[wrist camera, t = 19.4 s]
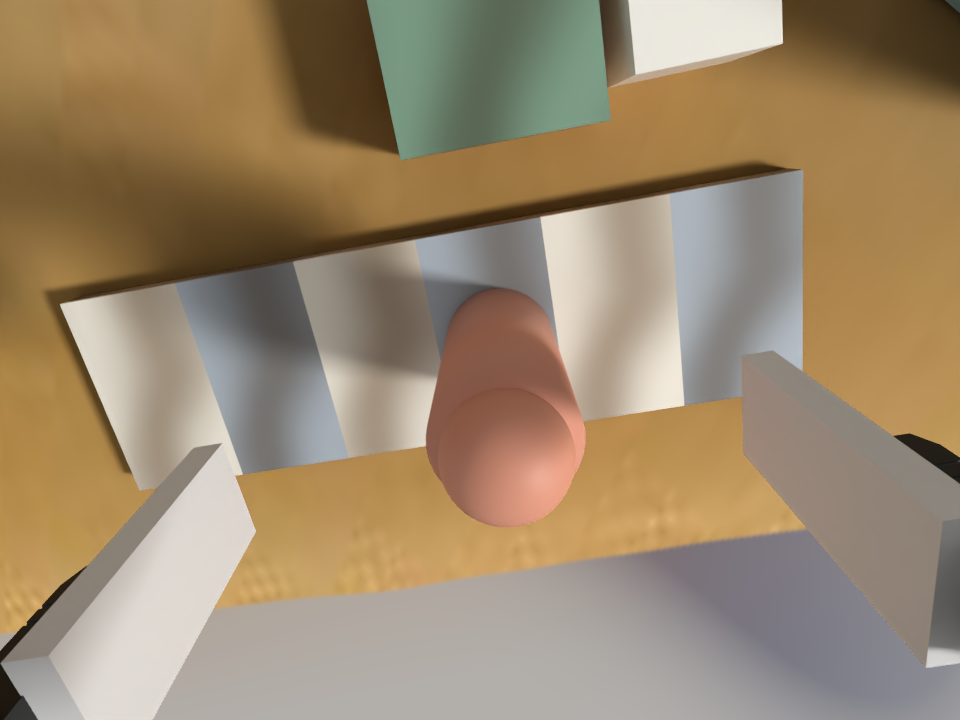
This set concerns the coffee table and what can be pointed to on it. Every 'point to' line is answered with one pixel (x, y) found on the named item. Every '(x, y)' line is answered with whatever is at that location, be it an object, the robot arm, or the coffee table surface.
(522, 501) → the pink rounded cylinder
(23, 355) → the coffee table surface
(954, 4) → the radio
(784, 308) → the board
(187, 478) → the robot arm
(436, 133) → the stand
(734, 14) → the white cube
